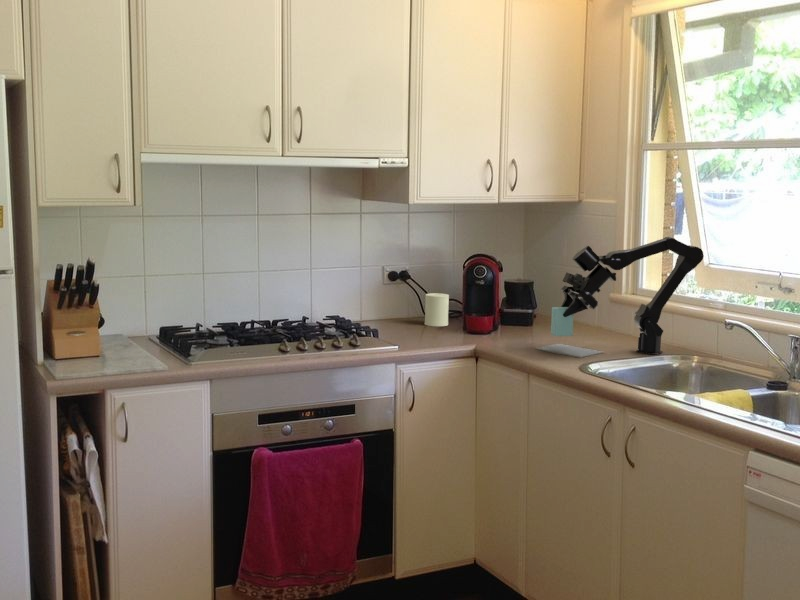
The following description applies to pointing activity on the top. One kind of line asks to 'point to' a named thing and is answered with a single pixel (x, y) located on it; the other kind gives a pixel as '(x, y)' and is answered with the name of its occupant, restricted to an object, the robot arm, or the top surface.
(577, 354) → the placemat
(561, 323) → the mint green pillar
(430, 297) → the can
